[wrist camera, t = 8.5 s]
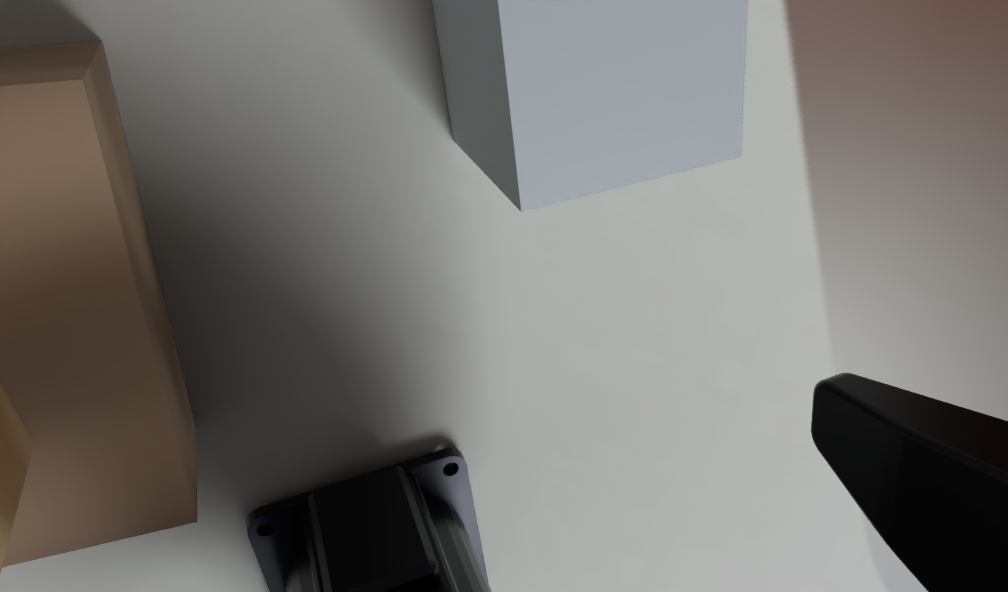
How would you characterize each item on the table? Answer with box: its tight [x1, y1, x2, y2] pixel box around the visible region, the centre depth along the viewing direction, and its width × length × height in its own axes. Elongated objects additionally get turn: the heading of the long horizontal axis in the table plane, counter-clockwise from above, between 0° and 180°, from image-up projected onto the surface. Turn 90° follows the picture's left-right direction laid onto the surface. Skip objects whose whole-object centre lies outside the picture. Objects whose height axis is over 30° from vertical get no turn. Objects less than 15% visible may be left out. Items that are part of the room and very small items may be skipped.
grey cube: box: [432, 0, 748, 212], centre depth 17 cm, size 5×5×5 cm
